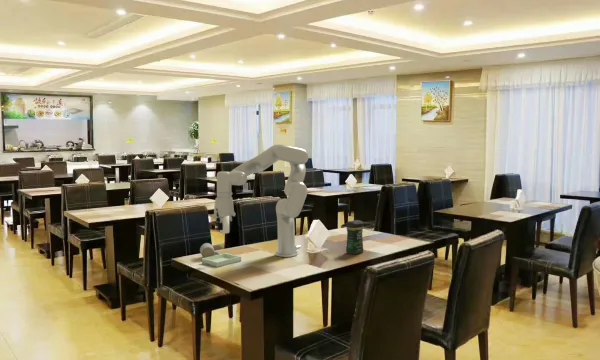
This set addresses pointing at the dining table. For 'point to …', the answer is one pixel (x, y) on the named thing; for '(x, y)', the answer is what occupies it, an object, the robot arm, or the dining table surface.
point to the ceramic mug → (207, 250)
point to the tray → (221, 260)
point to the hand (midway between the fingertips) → (224, 228)
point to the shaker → (225, 224)
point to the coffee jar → (354, 237)
